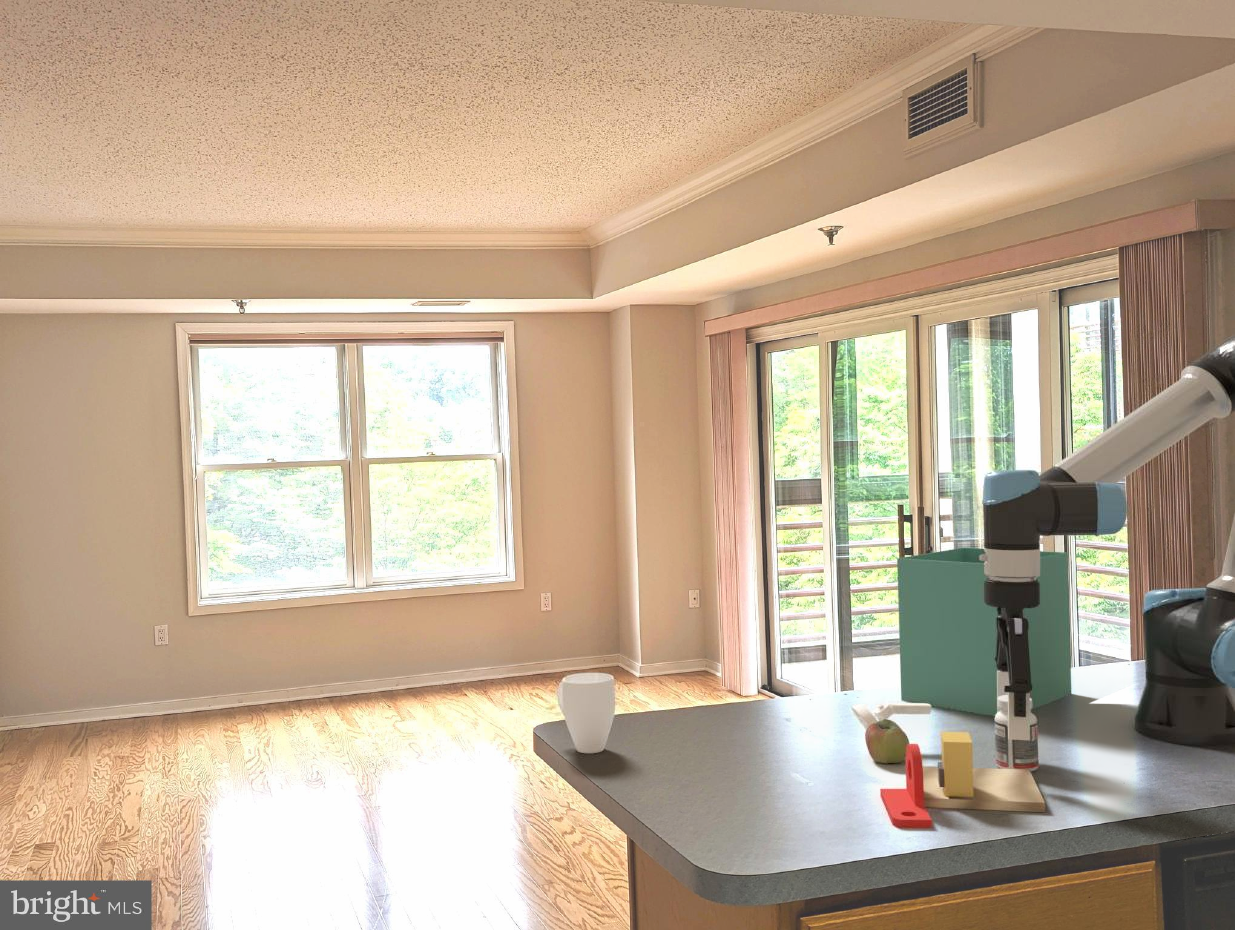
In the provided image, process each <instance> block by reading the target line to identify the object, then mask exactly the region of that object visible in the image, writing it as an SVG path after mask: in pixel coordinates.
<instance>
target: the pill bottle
mask: <svg viewBox="0 0 1235 930" xmlns="http://www.w3.org/2000/svg"><path fill="white" fill-rule="evenodd" d="M997 705H998V707H999V708H1000V711H999V712H998V713H997V714H996V715H995V717H994V738H995V739H994V741H995V743H994V744H995V763H996V766H997V767H998V769H1022V770H1030V772H1031V773H1032V772H1034V771H1036V770H1038V769H1039V765H1040V764H1039V740H1038V739H1039V738H1038V719H1037V717H1036V715H1035V714H1034V713H1032V710H1031V709H1032V708H1033V704H1032V699H1031V698H1030V740H1010V739H1009V738H1008V695H1002V696H999V697H998V702H997Z"/></svg>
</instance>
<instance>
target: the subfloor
mask: <svg viewBox="0 0 1235 930" xmlns="http://www.w3.org/2000/svg"><path fill="white" fill-rule="evenodd" d="M922 766H923V784H924V804H925V808H935V809H936V808H937V809H938V808H940V809H958V810H959V809H960V810H961V809H962V810H963V809H964V810H980V811H981V810H983V811H1007V812H1008V811H1009V812H1025V813H1026V812H1029V813H1030V812H1033V813H1046V802H1045V800H1044V798H1043V796H1042V793H1041V791H1040V789H1039V787H1038V785H1037V783H1036V781H1035V779H1034V777H1033V775H1032V772H1030V770H1022V769H1000V768H990V767H989V768H985V767H973V792H974V797H959V796H945V793H944V789H943V787H939V782H938V765H937V766H933V765H922Z"/></svg>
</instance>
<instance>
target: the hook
mask: <svg viewBox="0 0 1235 930" xmlns="http://www.w3.org/2000/svg"><path fill="white" fill-rule="evenodd" d="M851 710H852V712H853V714H854V715H855V717H856V718H857V719H858V721H859V723H860V724H861V725H862V726H863V727H864V729H865V730H866V729H867V728H868V726H869V725H871V724H873V723H875V722H877V721H880V720H884V719H887V720H889V718H890V717H891V716H893V715H930V714H931V713H932V706H931V705H930V704H927V703H914V702H884V703H880V704H879V705H878V706H877V707H875V708H874V710H873V713H872V712H871V711H870V709H868V708H867V706H865V704H863V703H859V704H854V705H852V706H851Z"/></svg>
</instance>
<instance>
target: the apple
mask: <svg viewBox="0 0 1235 930" xmlns="http://www.w3.org/2000/svg"><path fill="white" fill-rule="evenodd" d="M864 735H865V736H864V740H865V744H866V748H867V751H868V754H869V757H870V758H871V759H872V760H873V761H874V762H877V763H881V764H884V765H885V764H887V765H888V764H890V763H892V764H899V763H901V762H903V761H904V760H905V759H906V747H907V744H910V741H909V737H908V736H907V733H905V731H904V730H903V729H902V728H901V726H899V724H897V723H896V722H895V721H893V720H891V719H884V720H880V721H879V720H877V722H875V723H873V724H871V725H869V726H868V728H867V729H865V734H864Z"/></svg>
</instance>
